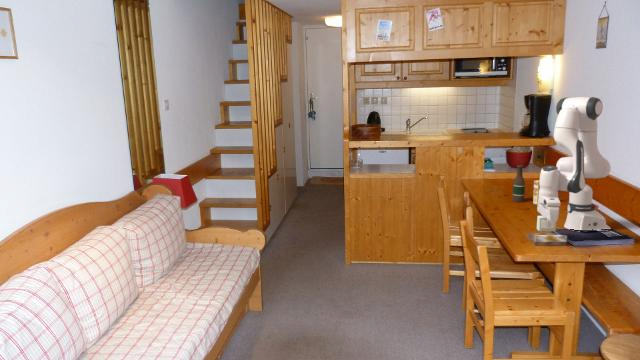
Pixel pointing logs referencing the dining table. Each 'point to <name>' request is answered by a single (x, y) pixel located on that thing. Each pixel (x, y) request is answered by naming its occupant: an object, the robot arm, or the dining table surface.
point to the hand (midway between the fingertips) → (546, 225)
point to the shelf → (547, 239)
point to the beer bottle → (519, 186)
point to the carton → (542, 224)
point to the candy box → (536, 192)
